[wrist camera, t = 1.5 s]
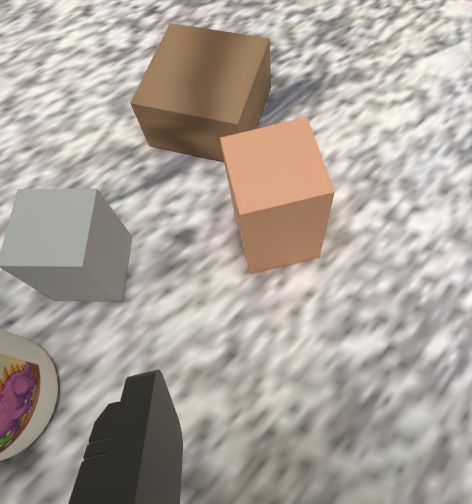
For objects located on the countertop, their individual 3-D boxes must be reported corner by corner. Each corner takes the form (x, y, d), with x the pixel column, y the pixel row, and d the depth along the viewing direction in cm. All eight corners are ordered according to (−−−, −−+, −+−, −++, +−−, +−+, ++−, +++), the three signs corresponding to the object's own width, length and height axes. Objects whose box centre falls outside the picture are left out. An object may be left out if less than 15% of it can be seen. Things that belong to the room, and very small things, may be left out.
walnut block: (149, 145, 36) (130, 103, 31) (182, 72, 38) (169, 23, 34) (243, 166, 34) (237, 124, 30) (270, 87, 37) (269, 38, 32)
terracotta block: (249, 274, 31) (239, 214, 22) (234, 213, 33) (219, 138, 24) (319, 257, 31) (334, 191, 22) (299, 197, 33) (307, 116, 24)
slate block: (54, 300, 31) (-3, 265, 25) (68, 237, 33) (17, 189, 27) (122, 301, 31) (82, 266, 24) (132, 237, 33) (96, 188, 26)
